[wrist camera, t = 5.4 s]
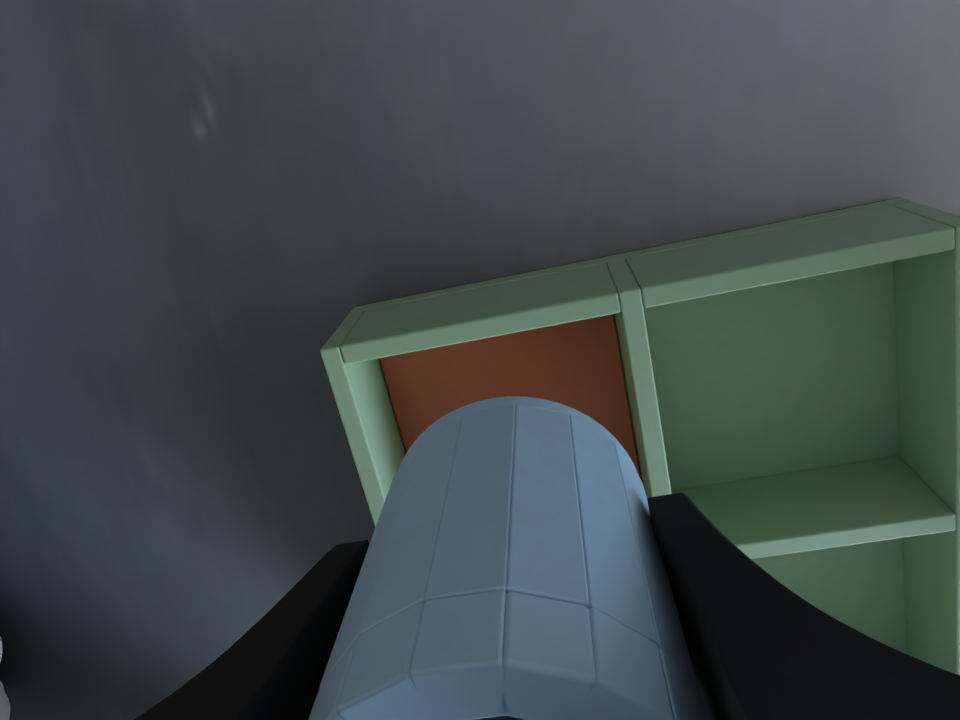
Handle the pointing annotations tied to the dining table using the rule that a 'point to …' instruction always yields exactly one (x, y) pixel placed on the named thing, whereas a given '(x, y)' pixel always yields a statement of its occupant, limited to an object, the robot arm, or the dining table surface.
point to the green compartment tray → (726, 394)
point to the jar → (512, 582)
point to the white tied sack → (3, 697)
